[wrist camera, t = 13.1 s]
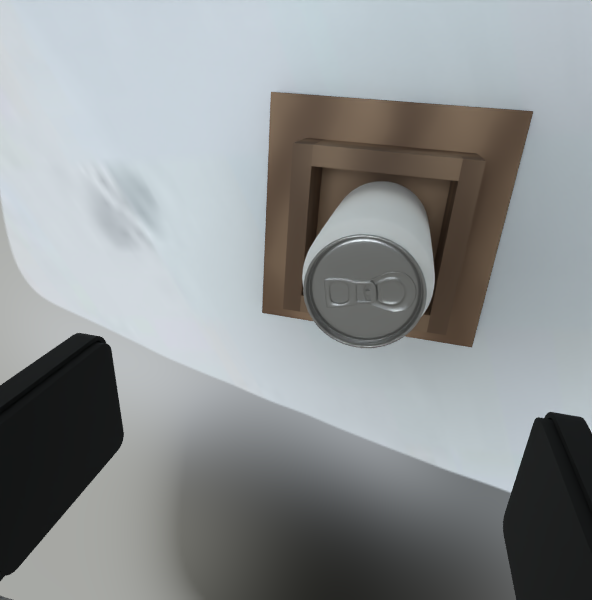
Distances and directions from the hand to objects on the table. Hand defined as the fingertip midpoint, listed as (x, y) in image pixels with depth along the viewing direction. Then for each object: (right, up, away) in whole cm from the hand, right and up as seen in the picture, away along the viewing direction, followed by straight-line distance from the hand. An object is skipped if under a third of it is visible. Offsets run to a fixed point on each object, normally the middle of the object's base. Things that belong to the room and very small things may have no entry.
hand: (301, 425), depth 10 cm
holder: (+6, +8, +23) cm, 25 cm away
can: (+6, +8, +22) cm, 24 cm away
